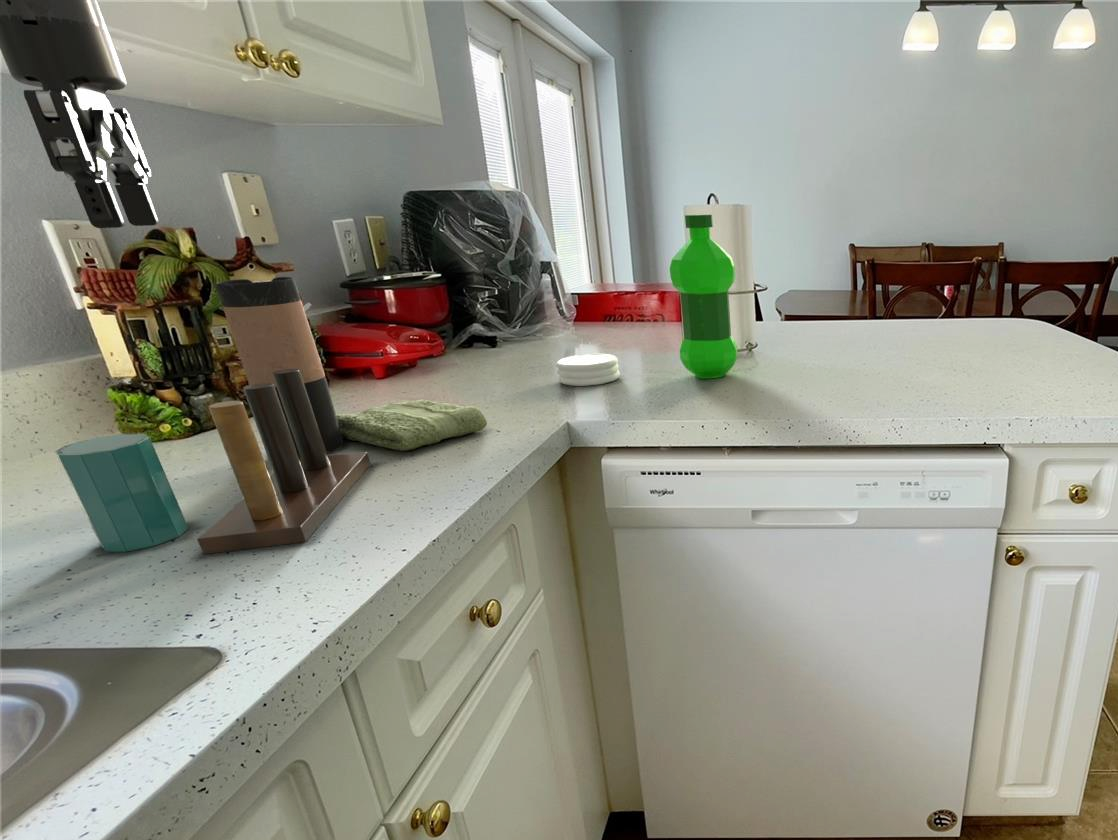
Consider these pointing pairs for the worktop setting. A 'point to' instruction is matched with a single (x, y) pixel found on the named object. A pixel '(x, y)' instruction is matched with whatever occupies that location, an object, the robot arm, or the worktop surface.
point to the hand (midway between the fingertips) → (128, 226)
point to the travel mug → (278, 343)
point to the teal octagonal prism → (123, 491)
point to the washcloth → (410, 424)
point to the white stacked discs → (588, 369)
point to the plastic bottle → (704, 301)
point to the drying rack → (278, 468)
